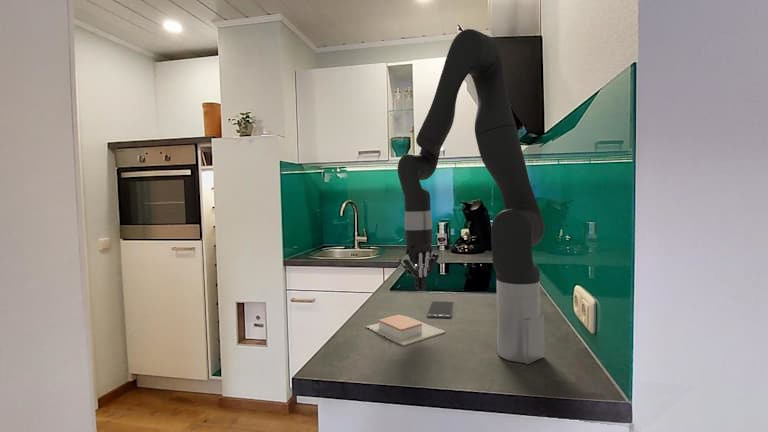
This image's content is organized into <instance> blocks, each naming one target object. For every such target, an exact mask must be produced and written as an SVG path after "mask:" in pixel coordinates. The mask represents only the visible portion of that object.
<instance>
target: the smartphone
mask: <svg viewBox="0 0 768 432" xmlns="http://www.w3.org/2000/svg"><path fill="white" fill-rule="evenodd" d="M453 308H454V302H453V301H441V300H440V301H437V300H435V301H434V300H433V301H431V302H430V305H429V308H428V311H427V314H426V317H427V318H431V319H432V318H435V319H436V318H437V319H451V318H452V316H453Z"/></svg>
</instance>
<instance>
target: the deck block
mask: <svg viewBox="0 0 768 432" xmlns="http://www.w3.org/2000/svg"><path fill="white" fill-rule="evenodd" d="M404 316H405V315H402V314H395V315H392V316H391V315H390V316H388V317H384V318H380V319H378V323H379V329H381V330H383V331H385V332H387V333H389V334H391V335H393V336H396V337H398V338H400V339H404V338H407V337H410V336H413V335H417V334H420V333H422V323H423V322H422V323H420V322H421V321H420V322H417V321H418V320H417V321H414V320H412V319H413V318H412V319H409V318H410V317H409V318H407V317H408V316H407V317H404Z"/></svg>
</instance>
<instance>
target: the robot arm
mask: <svg viewBox="0 0 768 432" xmlns="http://www.w3.org/2000/svg"><path fill="white" fill-rule="evenodd" d="M445 58H446V59H445V61H444V65H443V67H442V72H441V74H440V77H439V80H438V85H437V87H436V91H435V95H434V97H433V99H432V103H431V105H430V108H429V110H428V113H427V114H426V116H425V118H424V120H423V123H422V125H421V126H420V129H419V131H418V134H417V135H416V139H415V140H416V141H415V143H416V145H417V146H419V148H420V152H419V153H417V154H416V153H406V154H403V155H401V157H400V159H399V161H398V163H397V176H398V179H399V183H400V186H401V190H402V193H403V195H404V243H405V245H406V251H405V255H404V256H403V258H400V259H399V260H398V261H399V263H400V264H401V266H402V267H403V269H404V270H405V271H406V273H407V274H408V276H412V277H414V288H415V290H416V291H420V292H422V291H426V288H427V276H428V274H431V273H432V272H433V270H434V267H435V266H436V263H437V261H438V259H439V257H440V255H439V254H437V253H435V252H434V251H433V247H432V244H433V242H434V240H433V239H434V238H433V218H432V209H431V207H432V205H431V193H430V191H429V190H428V189H425V188H423V187H422V185H421V181H426V180H428V179H430V178H431V177H432V176H433V175H434V173H435V171H436V169H437V168H438V167H437V166H438V162H439V158H440V154H441V148H442V146H443V145H444V143H445V141H446V139H447V137H448V135H449V134H450V131H451V129H452V126H453V124H454V120H455V117H456V116H455V114H456V106H457V105H456V103H457V99H458V95H459V91H460V89H461V87H462V84H463V83H464V81H465V79H466V78H467V76H468V75H470V77H471V78H472V81H473V84H474V88H475V91H476V94H477V95H476V96H477V109H476V115H475V120H474V135H475V140H476V144H477V147H478V152H479V155H480V158H481V161H482V163H483V165H484V167H485V168H486V169H487V171H488V173H489V174H490V176H491V178H492V179H493V181H494V182H495V184H496V186H497V187H498V189H499V191H500V194H501V198H502V201H503V206H504V210H501V211H500V212H498V213H497V215H496V216H495V217H494V218H493V220H492V225H491V228H490V229H491V230H490V231H491V233H490V235H491V236H490V238H491V239H490V241H491V257H492V266H493V267H494V270H495V273H496V276H495V277H496V335H497V336H496V338H497V339H496V340H497V345H496V346H497V349H496V350H497V354H498V356H500V358H503V359H504V360H507V361H511V362H514V363H523V364H526V365H529V364H532V363H534V362H535V361H536V362H537V361H538V360H540V359H543V358H545V316H544V315H543V314H541V283H540V282H541V281H540V280H541V274H540V273H541V272H540V268H539V267H538V266H537V265H535V264H534V261H533V260H534V258H533V247H534V246H536V245H538V244H539V243H540V242H541V241H542V240H543V238H544V235H545V230H546V229H545V228H546V227H545V221H544V217H543V215H542V212H541V209H540V207H539V204H538V202H537V199H536V197H535V193H534V191H533V188H532V185H531V181H530V176H529V172H528V170H527V164H526V161H525V157H524V153H523V149H522V143H521V140H520V135H519V132H518V129H517V125H516V121H515V117H514V115H513V110H512V106H511V103H510V102H511V101H510V99H509V95H508V92H507V87H506V81H505V76H504V69H503V62H502V61H503V60H502V54H501V50H500V47H499V44H498V43H497V41H496V40H495V39H494V38H493V37H491V36H489V35H487V34H485V33H483V32H480V31H478V30H476V29H473V28H472V29H471V28H467V29H464V30H461V31H460V32H458V34H457V35H456V36H455V37H454V38H453V40H452V42H451V44H450V46H449V49H448V52H447V55H446V57H445Z"/></svg>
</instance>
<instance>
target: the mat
mask: <svg viewBox="0 0 768 432" xmlns="http://www.w3.org/2000/svg"><path fill="white" fill-rule="evenodd" d="M403 316H404V317H407V318H409V319H412V320H414V321H417V322H420V323H422V333H420V334H417V335H413V336H410V337H407V338H404V339H400V338H398V337H396V336H393V335H391V334H389V333H387V332H385V331H383V330H381V329H379V322H378V323H374V324H370V325H367V326H365V327H367V328H366V329H368V328H369V329H368V330H369V331H370V330H371V331H372V332H375V334H378V335H380V336H382V337H384V336H385V337H384V338H386V339H389V340H391V341H392V342H394V343H396V344H398V345H401V346H403V347H405V346H408V345H411V344H412V345H413V344H415V343H417V342H421V341H423V340H424V341H425V340H427V339H430V338H434V337H437V336H439V335H442V334H446V330H443V329H441V328H437V327H435V326H433V325H430V324H427V323H425V322H422V321H419V320H417V319H414V318H413V317H409V316H407V315H403Z"/></svg>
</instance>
